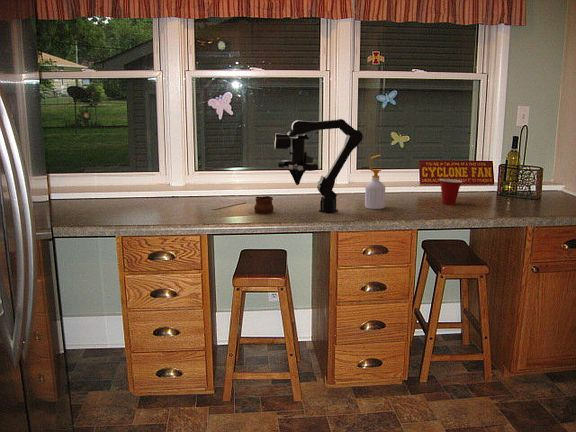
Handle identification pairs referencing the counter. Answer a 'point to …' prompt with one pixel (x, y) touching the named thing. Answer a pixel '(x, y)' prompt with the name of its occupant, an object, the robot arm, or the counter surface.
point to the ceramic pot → (264, 205)
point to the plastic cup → (449, 190)
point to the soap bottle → (375, 191)
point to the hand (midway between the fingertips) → (297, 184)
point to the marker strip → (229, 205)
